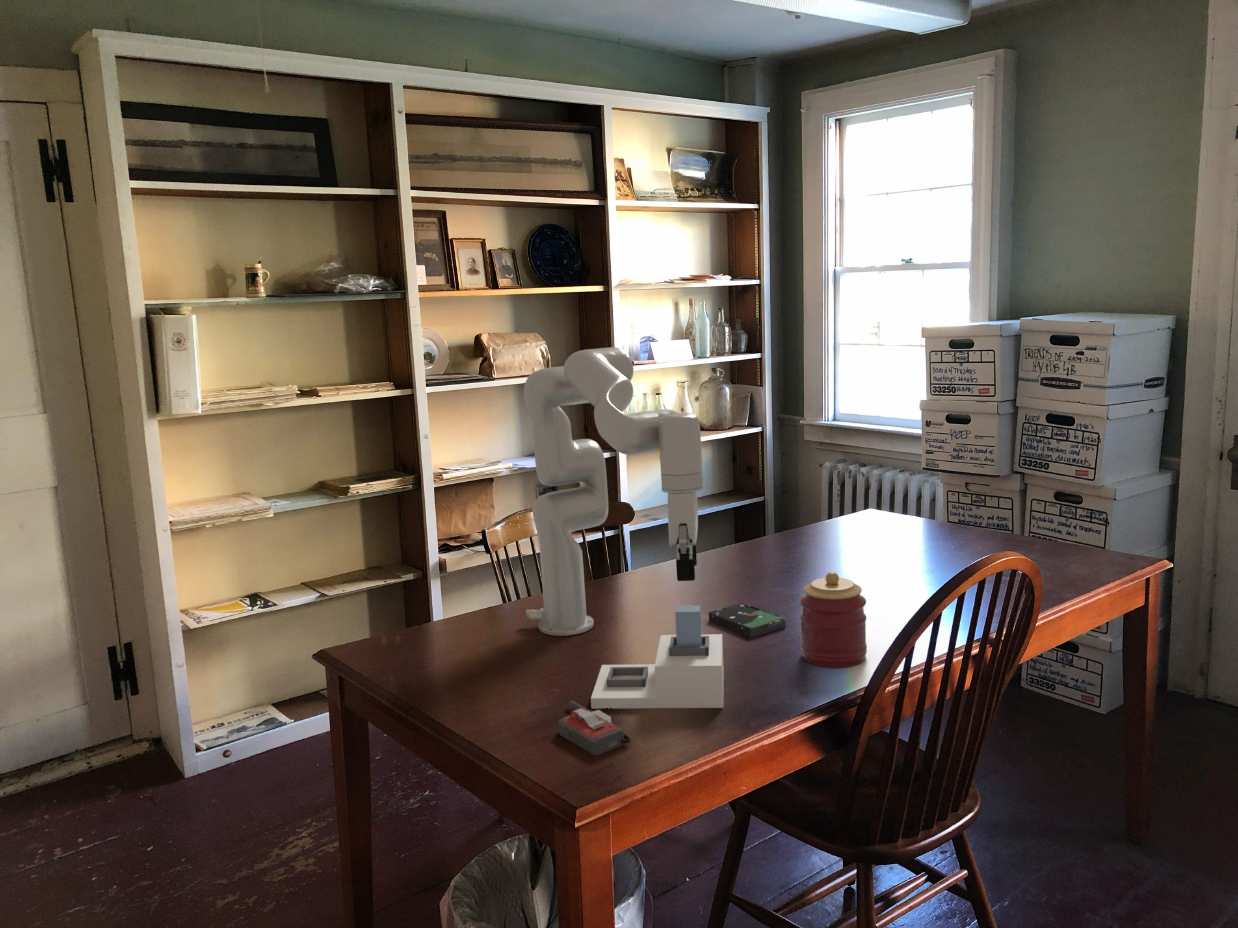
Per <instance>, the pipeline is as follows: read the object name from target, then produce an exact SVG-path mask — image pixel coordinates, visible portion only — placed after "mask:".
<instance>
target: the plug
mask: <svg viewBox="0 0 1238 928" xmlns="http://www.w3.org/2000/svg"><path fill="white" fill-rule="evenodd" d="M701 611H702V610H701V605H676V606H675V612H674V613H675V614H674V615H675V631H676V632H675V635H676V638H677V647H702V635H703V634H702V615H701Z"/></svg>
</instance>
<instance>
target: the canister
mask: <svg viewBox="0 0 1238 928" xmlns="http://www.w3.org/2000/svg"><path fill="white" fill-rule="evenodd" d="M862 591H863V589H862V587H861V586H859V585H858V584H856V583H855V582H854V581H852V580H851V579H849V578H848V579H847V578H843V577H839V574H838V573H837V572H835V571H829V572H827V573H826V575H825V577H821V578H816V579H814V580H812V581H810V583H808V584H806V585H805V586H803V592H804V593H805V594H803V595H802V596H800V599H799V604H800V605H801V606H802V612H800V615H799V618H800V626H801V627H800V633H801V634H800V636H801V643H800V651H801V654H802V658H803V659H804V660H805V661H807V662H808V663H809V664H811V665H812V664H813V665H815V666H817V667H818V666H819V667H824V668H825V667H826V668H847V667H853V666H856V665H859V664H861V663H862V662H864V660H866V657H867V656H866V655H867V653H868V652H867V651H868V650H867V648H868V645H867V638H866V637H867V634H866V626H867V625H866V620H867V615H866V614H865V611H864V610H865V609H864V606H866V604H867V600H866V598H865V597H864V596H863V595H861V593H862Z"/></svg>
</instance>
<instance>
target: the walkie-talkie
mask: <svg viewBox="0 0 1238 928" xmlns="http://www.w3.org/2000/svg"><path fill="white" fill-rule="evenodd" d="M567 703H568V706H569V707H571V708H573V709H574V710H572V711H570V714H569V715H567V716H564V717H561V718H560V719H559V720H558V731H559V732H558V733H559V736H561V737H563V738H564V739H565V740H567V741H568V742H570V743H572V742H573V743H572V744H574V745H576V746H578V747H579V748H581V747H582V748H583V749H582V748H581V749H582V750H584V749H585V750H584V751H586V750H587V751H589V752H588V753H589V754H590V755H593V756H601V755H603V754H605V753H604V752H606V751H608V752H610V751H609V750H611V751H613V750H615V749H614V748H616V749H618V748H620V747H619V746H621V745H623V744H624V745H626V744H630V743H631V737H630V736H628V735H627V734H625V733H624V729H622V728H620V727H619V726H617V725H615V724H613V723H612V716H610V715H608V714H606V713H604V712H603V711H602V710H600V709H596V710H591V709H588V708H586V707H585V706H583V705H581V704H579V703H577V702H575V701H573V700H569V701H568V702H567ZM624 745H623V746H624ZM617 747H618V748H617ZM621 747H622V746H621ZM612 749H613V750H612ZM587 751H586V752H587ZM602 753H603V754H602ZM606 753H607V752H606ZM600 754H601V755H600Z"/></svg>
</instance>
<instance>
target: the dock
mask: <svg viewBox="0 0 1238 928" xmlns="http://www.w3.org/2000/svg"><path fill="white" fill-rule="evenodd" d="M723 644H724V643H723V634H722V633H719V634H716V633H715V634H714V633H710V634H706V633H705V634H702V647H677V638H676V634H660V637H659V643H658V647H657V652H656V657H655V662H654V663H653V664H651V663H649V664H647V663H645V664H642V663H641V664H640V663H639V664H638V663H637V664H601V667H600V669H599V673H598V675H597V678H596V681H595V685H594V687H593V688H594V689H593V691H592V694H591V695H590V696H591V697H590V706H591V707H590V708H591V709H592V710H593V709H596V710H600V709H601V710H602V709H603V708H604V709H606V708H608V709H610V708H612V709H724V694H725V693H724V691H725V690H724V689H725V687H724V685H725V683H724V682H725V681H724V680H725V669H724V666H725V665H724V648H723ZM591 709H590V710H591Z"/></svg>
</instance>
